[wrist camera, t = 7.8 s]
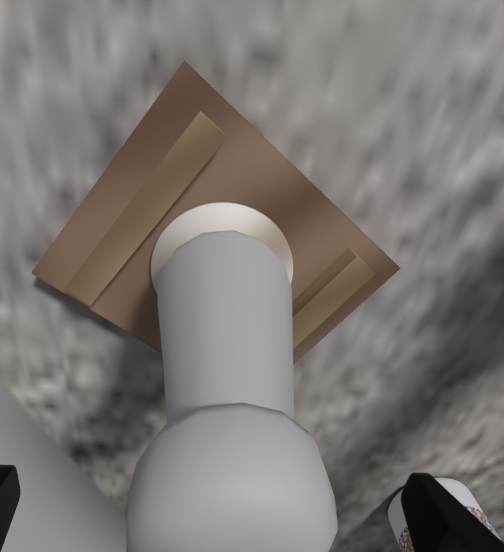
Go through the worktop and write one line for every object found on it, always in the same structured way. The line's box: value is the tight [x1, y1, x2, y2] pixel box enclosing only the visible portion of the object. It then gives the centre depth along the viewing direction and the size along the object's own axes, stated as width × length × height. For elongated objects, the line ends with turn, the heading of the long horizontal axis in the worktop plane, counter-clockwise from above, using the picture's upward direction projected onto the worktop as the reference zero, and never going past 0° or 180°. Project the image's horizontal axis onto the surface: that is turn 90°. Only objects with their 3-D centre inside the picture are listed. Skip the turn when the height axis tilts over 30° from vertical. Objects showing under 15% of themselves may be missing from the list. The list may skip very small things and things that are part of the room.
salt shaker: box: [127, 230, 338, 552], centre depth 13 cm, size 6×6×13 cm
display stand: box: [32, 61, 400, 365], centre depth 19 cm, size 14×12×3 cm
